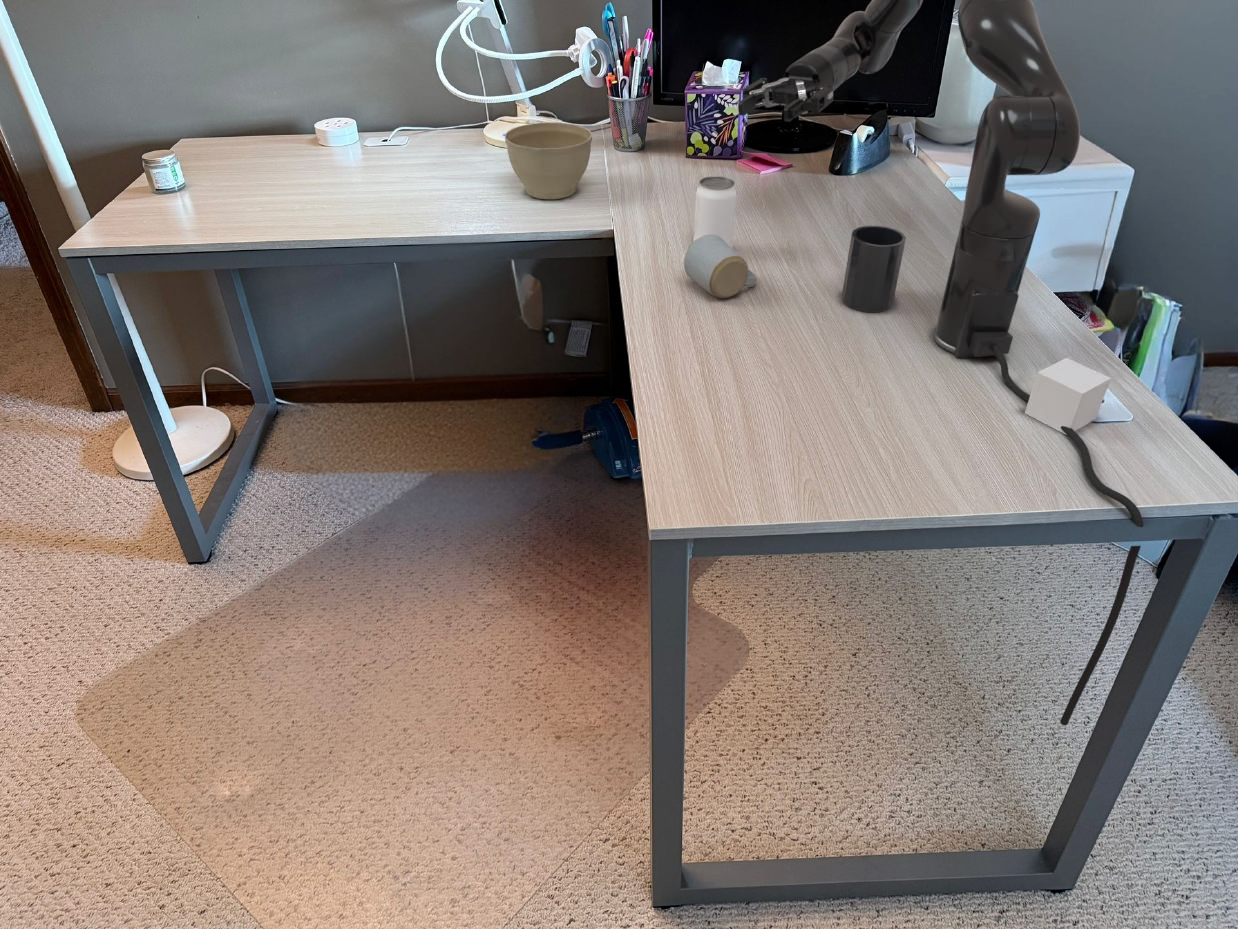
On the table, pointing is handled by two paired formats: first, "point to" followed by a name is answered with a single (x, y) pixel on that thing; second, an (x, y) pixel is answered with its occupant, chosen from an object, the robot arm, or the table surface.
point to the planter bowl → (549, 157)
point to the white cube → (1067, 395)
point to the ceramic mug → (717, 267)
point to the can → (715, 208)
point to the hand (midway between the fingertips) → (762, 112)
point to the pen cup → (873, 268)
